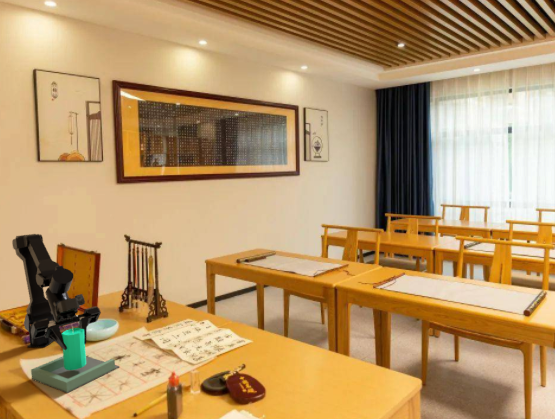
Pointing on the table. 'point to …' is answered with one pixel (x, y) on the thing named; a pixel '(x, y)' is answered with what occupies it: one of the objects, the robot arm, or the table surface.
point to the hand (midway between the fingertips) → (75, 346)
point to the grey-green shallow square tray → (71, 373)
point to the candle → (74, 349)
